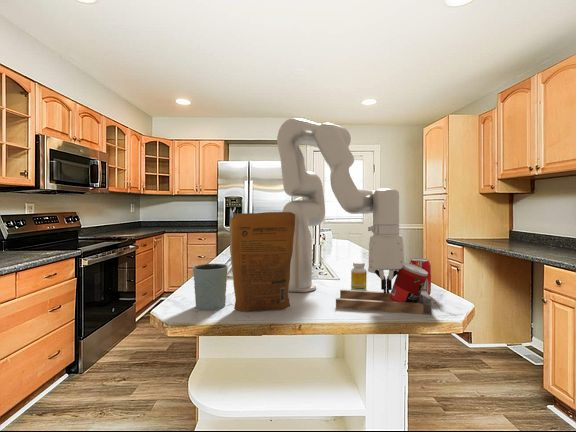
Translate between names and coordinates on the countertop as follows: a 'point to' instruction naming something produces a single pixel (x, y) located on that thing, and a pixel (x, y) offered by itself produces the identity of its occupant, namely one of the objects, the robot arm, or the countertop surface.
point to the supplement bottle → (358, 276)
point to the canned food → (408, 284)
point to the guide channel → (382, 302)
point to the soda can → (427, 267)
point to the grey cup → (210, 286)
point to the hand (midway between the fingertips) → (386, 292)
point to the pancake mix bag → (261, 259)
